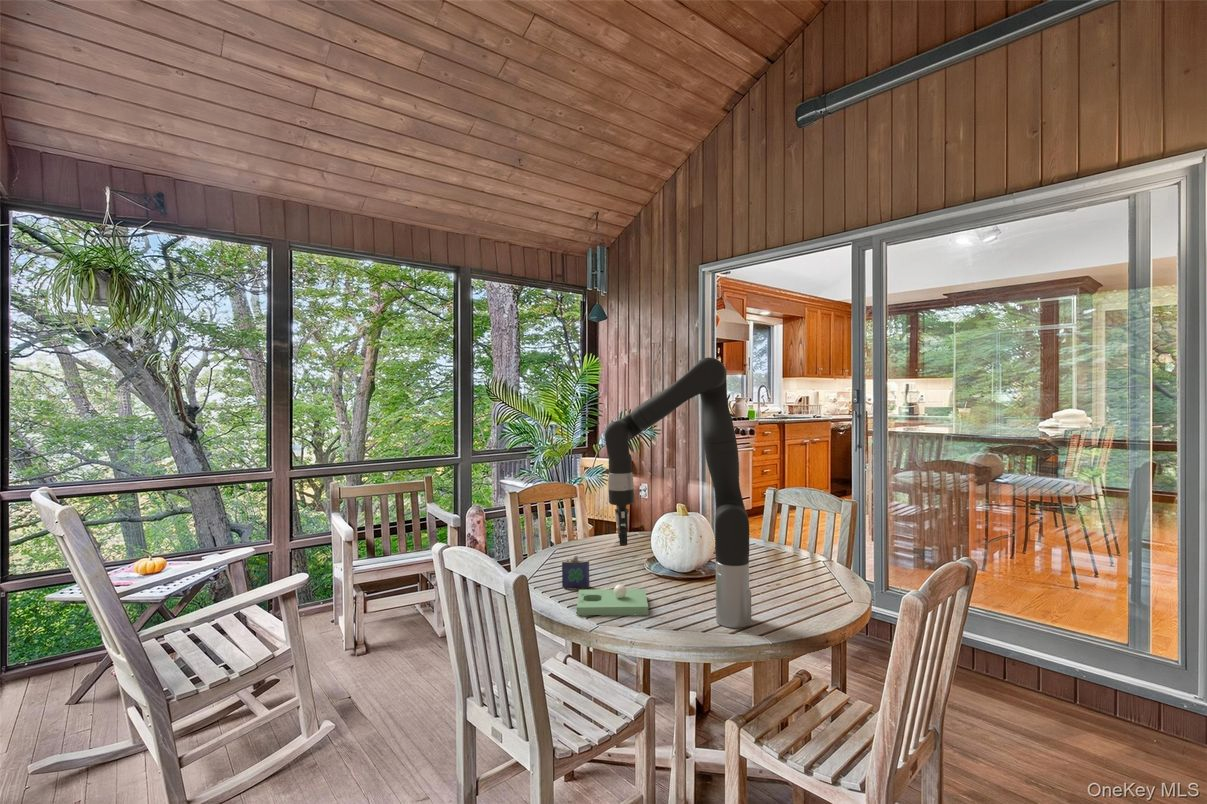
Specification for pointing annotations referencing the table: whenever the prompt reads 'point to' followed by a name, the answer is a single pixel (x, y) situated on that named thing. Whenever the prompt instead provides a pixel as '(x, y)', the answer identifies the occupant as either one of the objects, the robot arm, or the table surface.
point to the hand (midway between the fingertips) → (622, 541)
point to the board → (612, 602)
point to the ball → (620, 591)
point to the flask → (575, 573)
